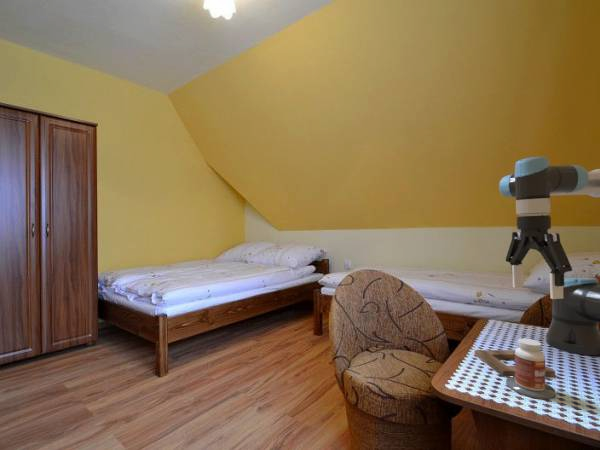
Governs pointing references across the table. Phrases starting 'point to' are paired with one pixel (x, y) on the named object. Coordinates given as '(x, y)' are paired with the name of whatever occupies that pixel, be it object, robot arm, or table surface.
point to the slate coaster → (545, 394)
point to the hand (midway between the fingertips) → (536, 292)
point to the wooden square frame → (492, 360)
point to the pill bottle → (530, 365)
